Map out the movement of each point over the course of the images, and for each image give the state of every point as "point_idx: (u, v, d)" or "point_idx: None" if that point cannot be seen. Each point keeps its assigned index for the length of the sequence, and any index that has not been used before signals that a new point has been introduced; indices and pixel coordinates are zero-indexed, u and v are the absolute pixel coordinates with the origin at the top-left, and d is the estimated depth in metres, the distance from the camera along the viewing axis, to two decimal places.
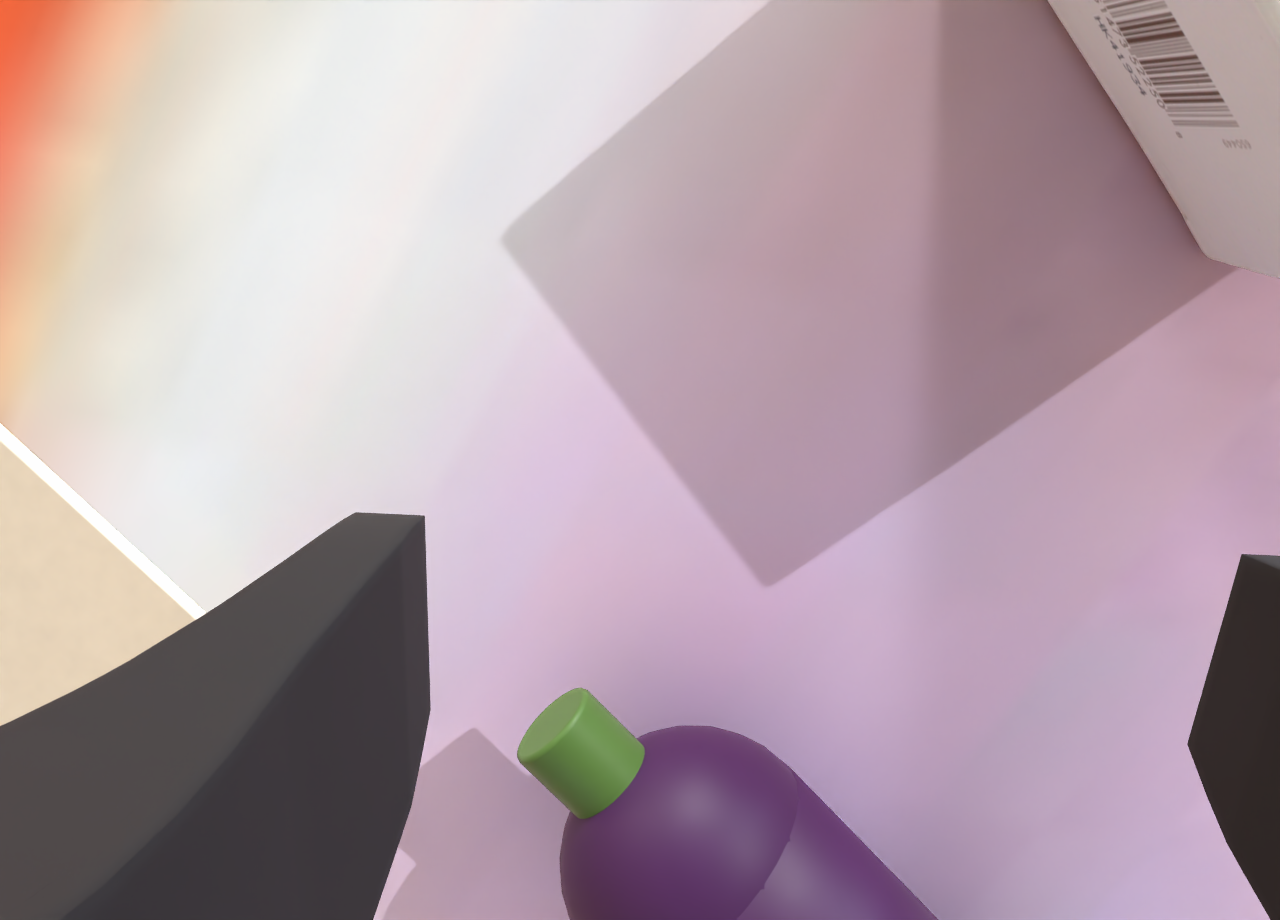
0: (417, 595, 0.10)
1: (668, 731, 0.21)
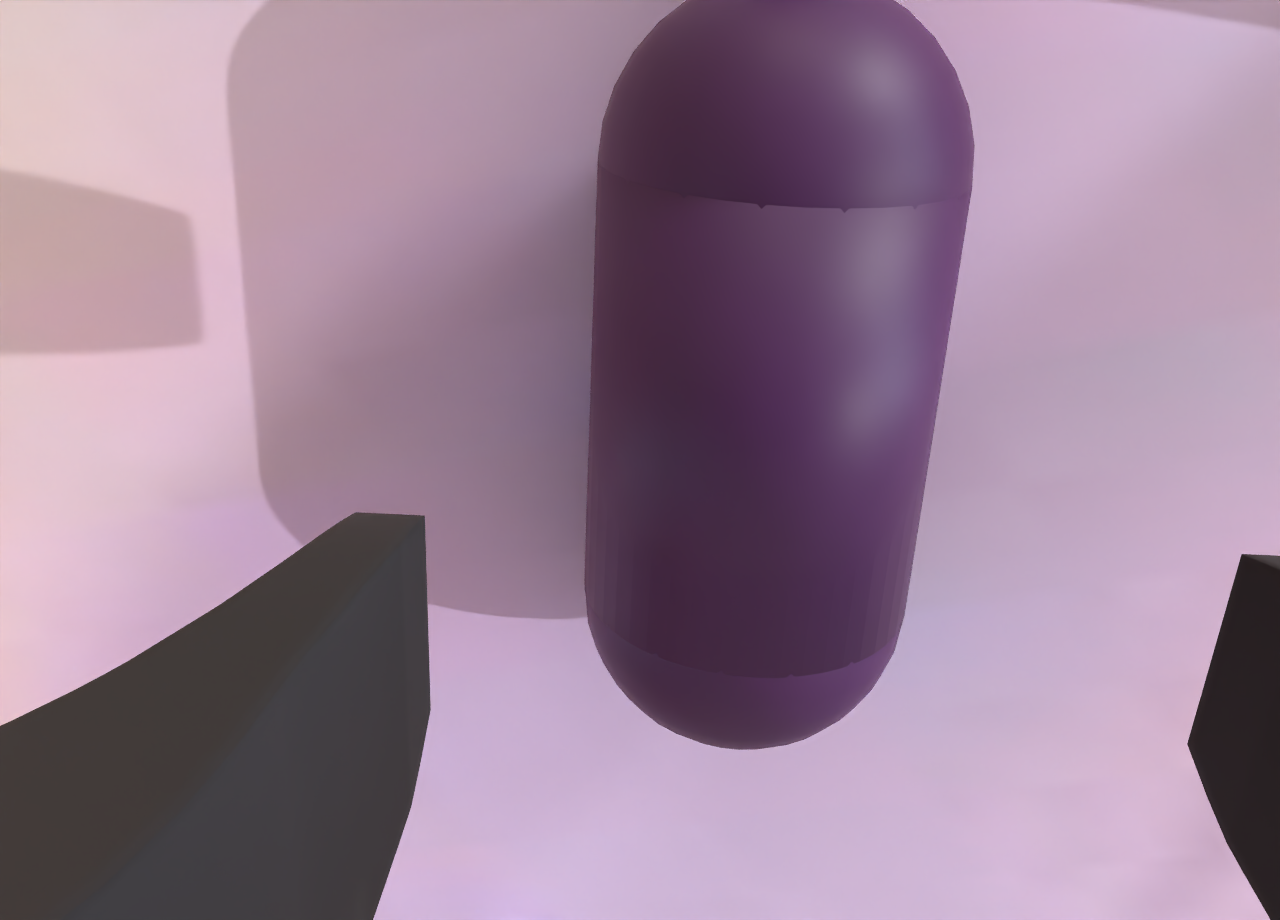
0: (417, 595, 0.10)
1: None
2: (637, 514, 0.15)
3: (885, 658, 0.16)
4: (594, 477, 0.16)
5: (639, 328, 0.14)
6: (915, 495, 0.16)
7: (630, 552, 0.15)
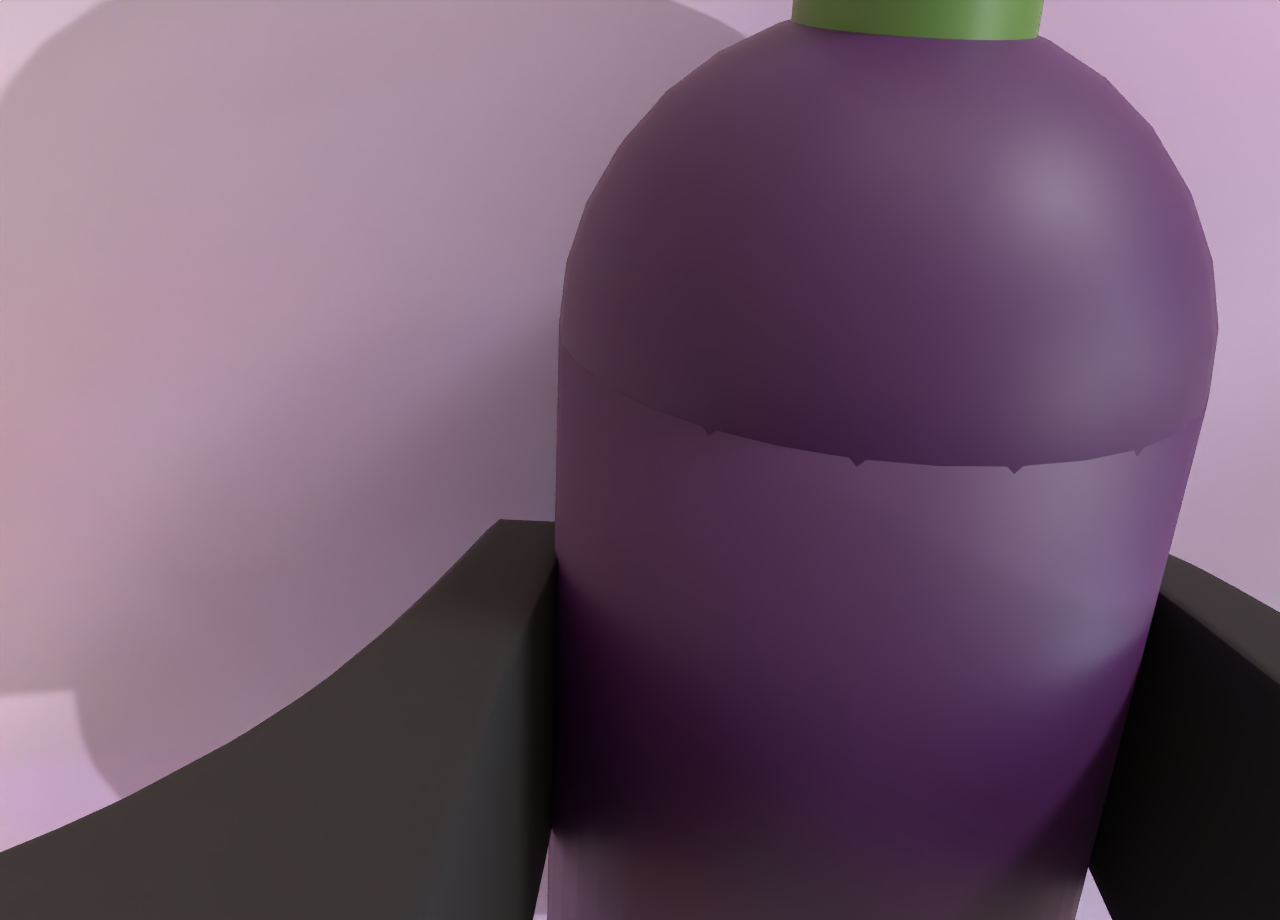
0: None
1: None
2: (625, 915, 0.09)
3: None
4: (557, 822, 0.10)
5: (628, 635, 0.08)
6: (1085, 870, 0.09)
7: None
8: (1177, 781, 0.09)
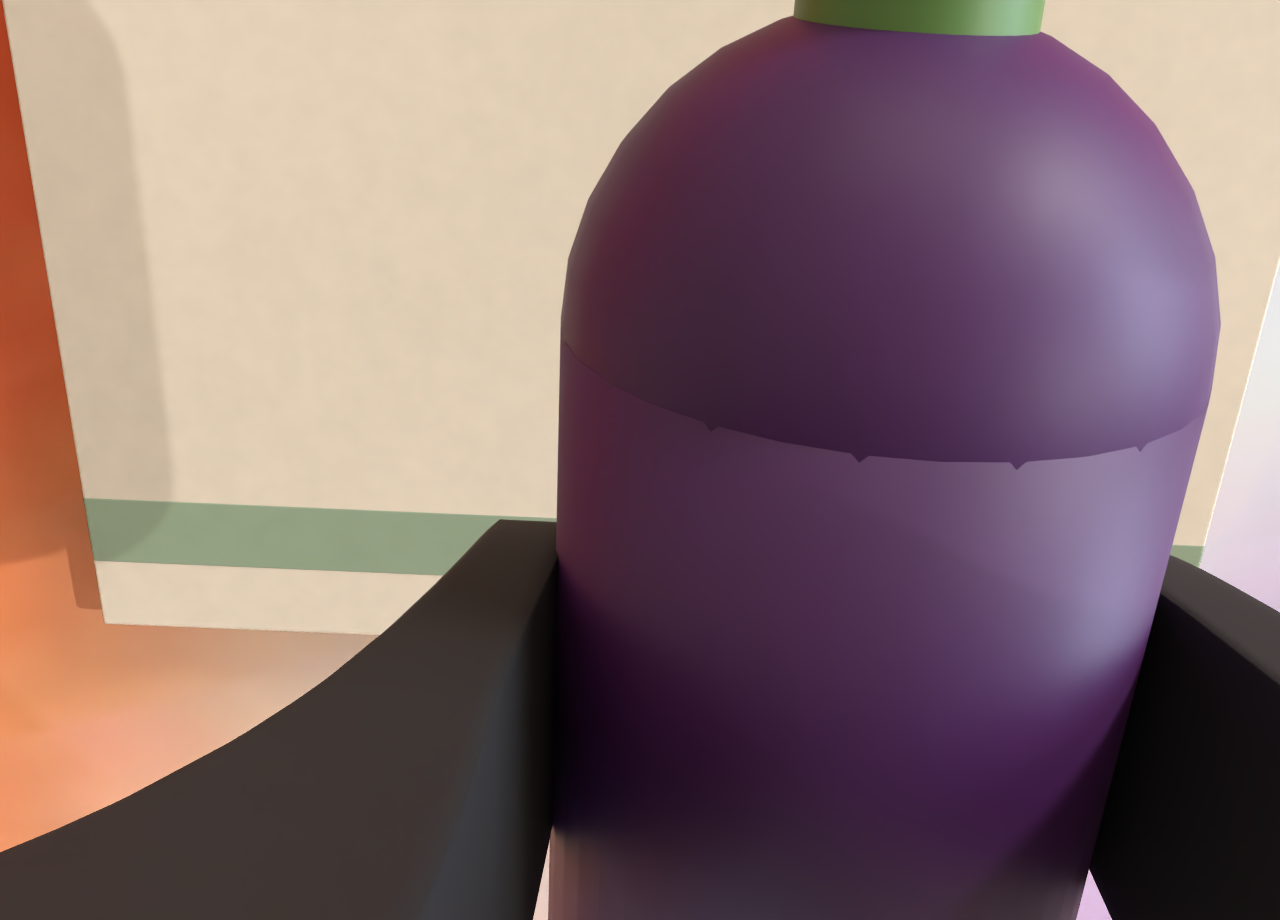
0: None
1: None
2: (627, 912, 0.09)
3: None
4: (558, 820, 0.10)
5: (629, 632, 0.08)
6: (1087, 868, 0.09)
7: None
8: (1177, 782, 0.09)
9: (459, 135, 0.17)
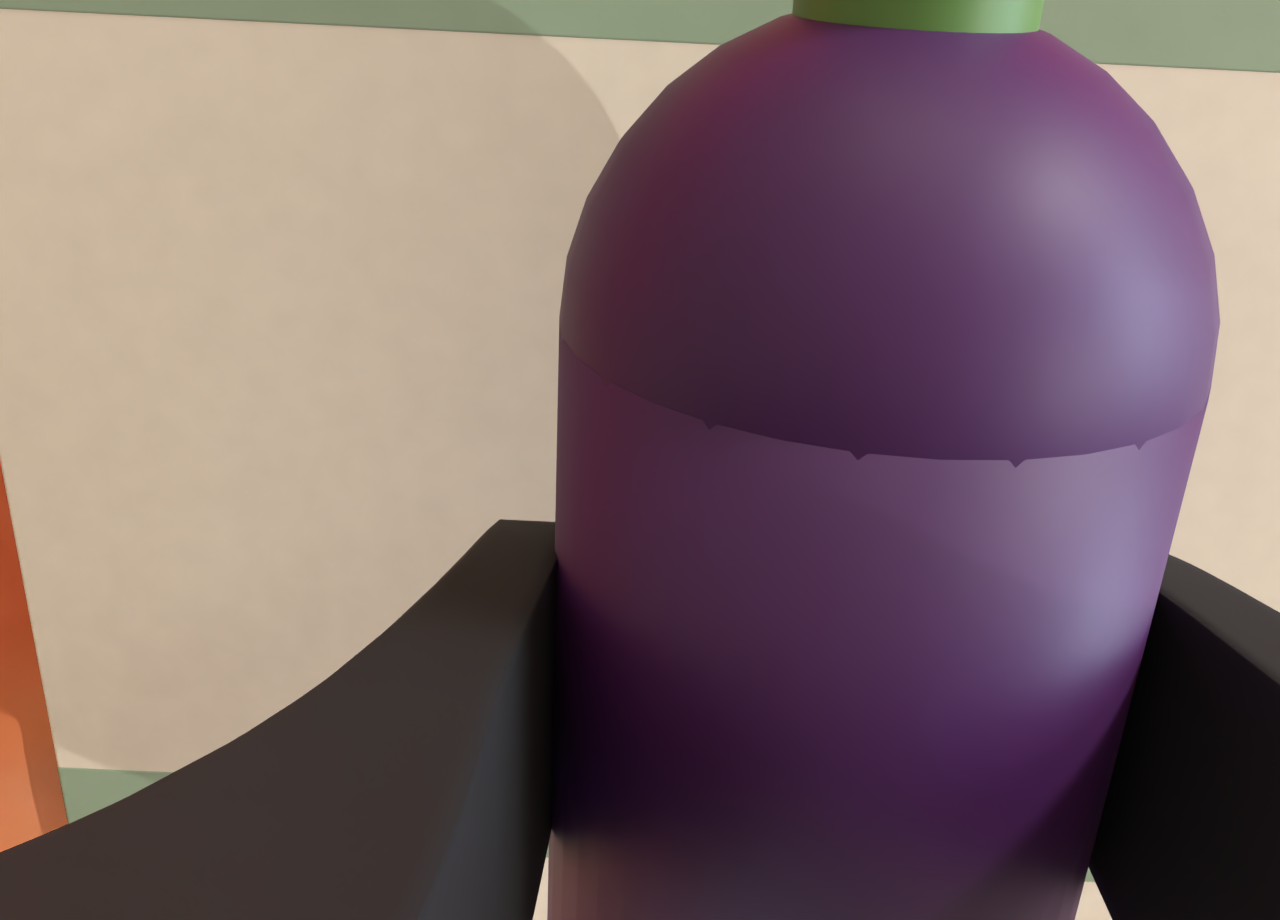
0: None
1: None
2: (625, 911, 0.09)
3: None
4: (557, 818, 0.10)
5: (628, 629, 0.08)
6: (1086, 866, 0.09)
7: None
8: (1177, 781, 0.09)
9: (535, 356, 0.13)
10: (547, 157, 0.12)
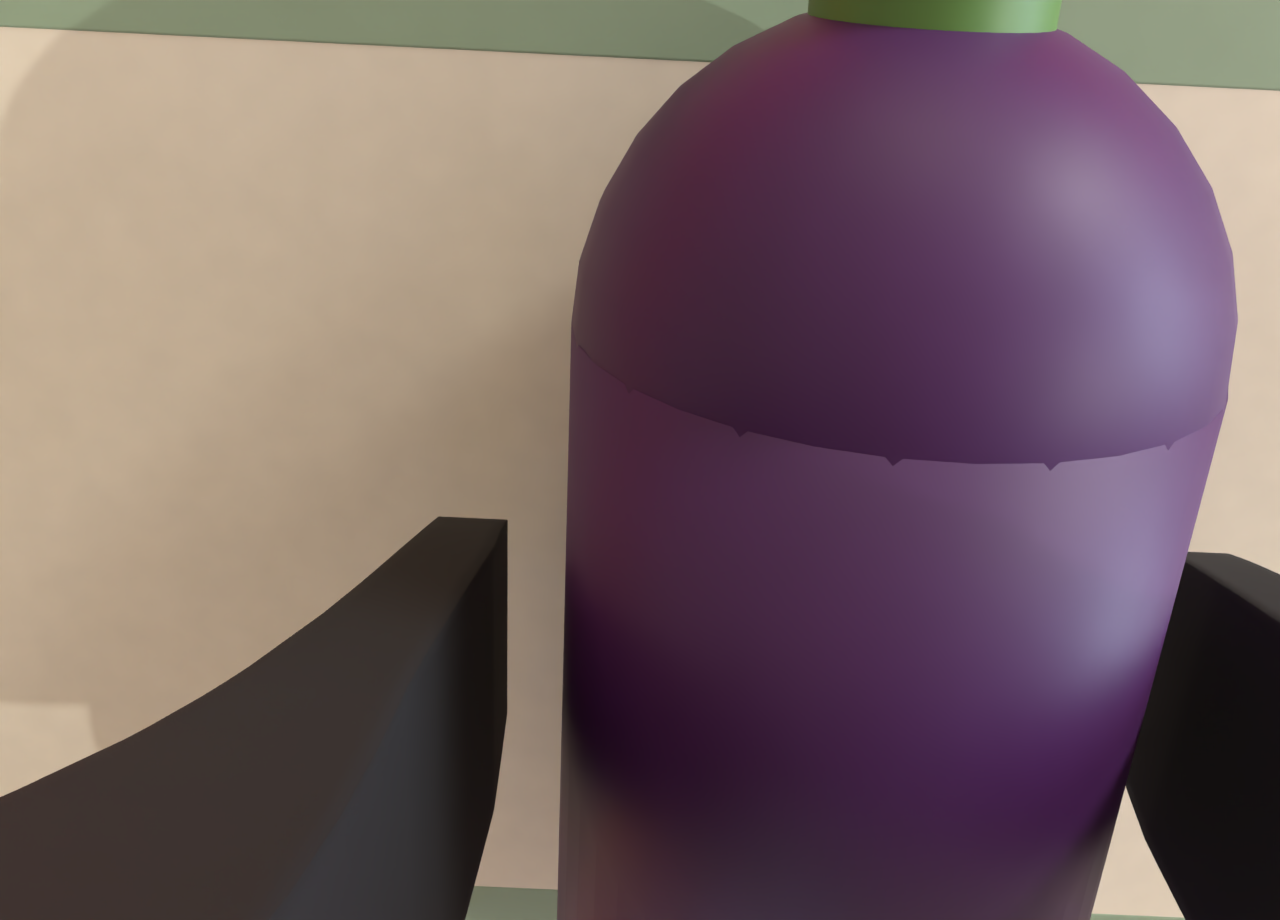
0: (501, 599, 0.10)
1: None
2: None
3: None
4: (571, 829, 0.10)
5: (652, 637, 0.08)
6: (1103, 863, 0.09)
7: None
8: (1260, 785, 0.09)
9: (519, 416, 0.12)
10: (530, 193, 0.11)
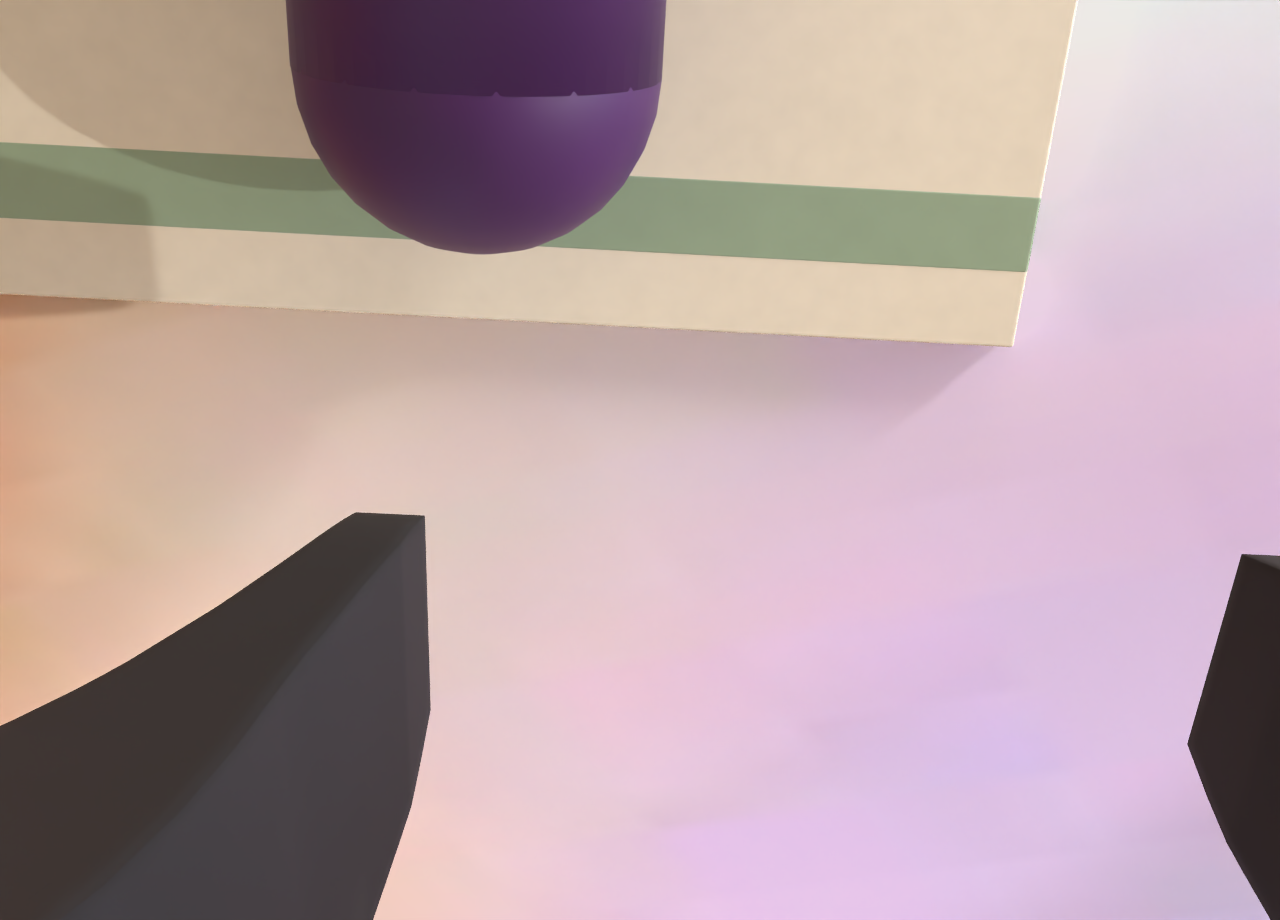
0: (417, 595, 0.10)
1: None
2: None
3: (654, 107, 0.15)
4: None
5: None
6: None
7: None
8: None
9: None
10: None
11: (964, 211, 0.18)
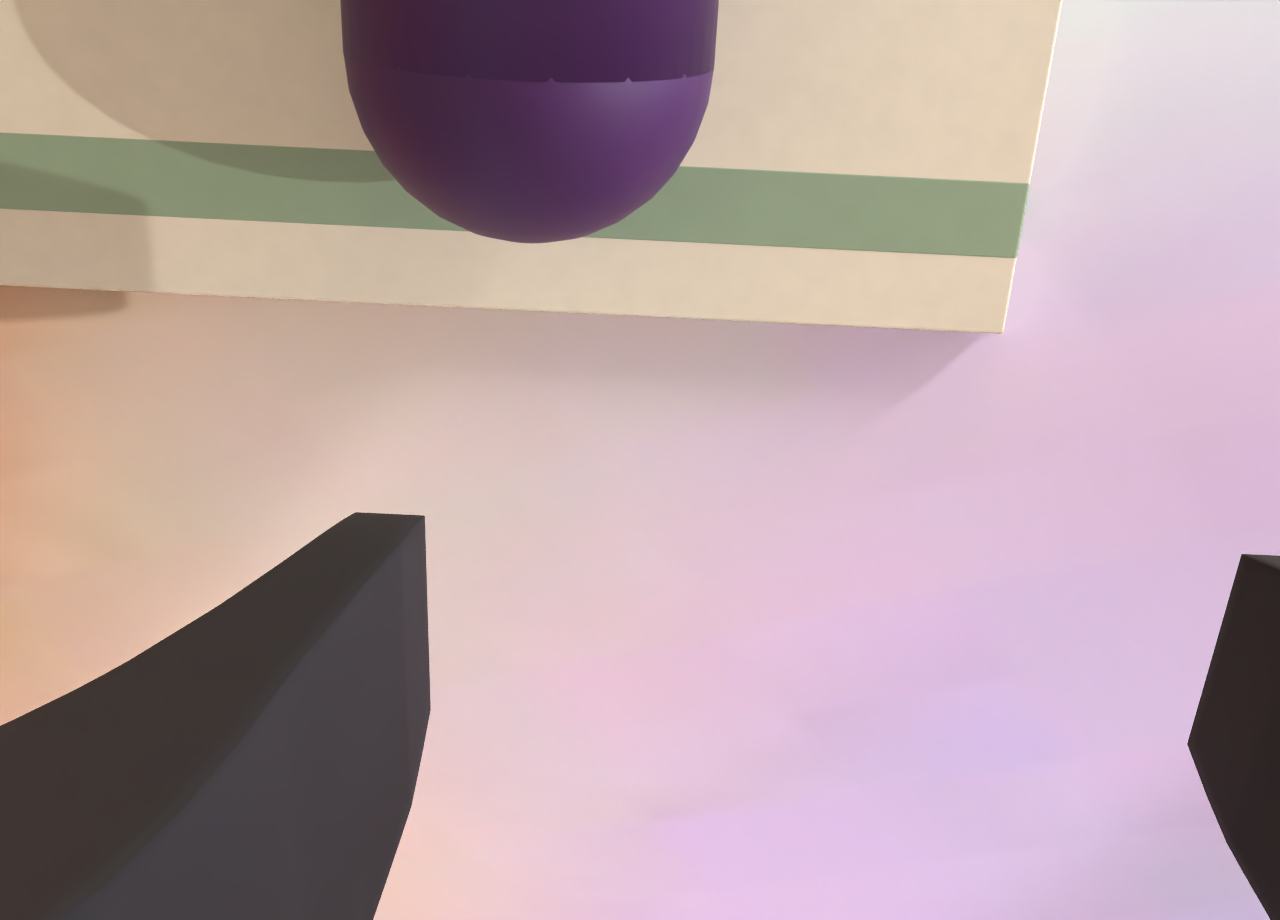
0: (417, 595, 0.10)
1: None
2: None
3: None
4: None
5: None
6: None
7: None
8: None
9: None
10: None
11: (953, 197, 0.18)
